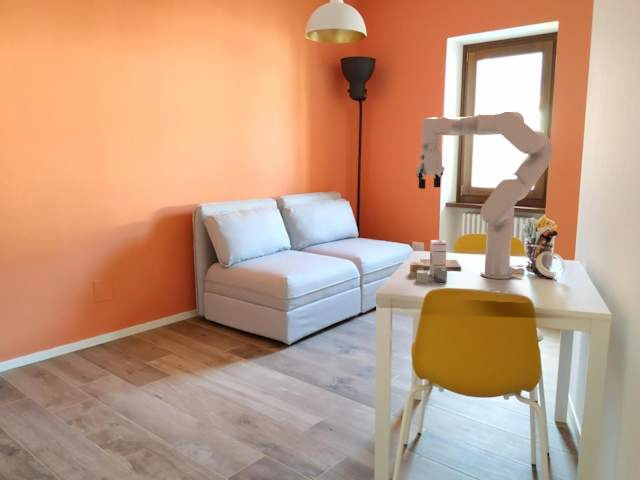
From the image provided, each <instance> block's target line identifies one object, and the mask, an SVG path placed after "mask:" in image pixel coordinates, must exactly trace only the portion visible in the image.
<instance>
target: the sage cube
mask: <svg viewBox="0 0 640 480" xmlns="http://www.w3.org/2000/svg"><path fill="white" fill-rule="evenodd" d="M416 282H417V283H419V284H420V283H421V284H428V282H429V272H428V270H423V271H418V270H417V277H416Z"/></svg>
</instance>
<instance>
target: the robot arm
mask: <svg viewBox="0 0 640 480" xmlns="http://www.w3.org/2000/svg"><path fill="white" fill-rule="evenodd" d="M421 128H422V129H421V130H422V133H421V134H422V135H421V152H420V157H419V165H418V166H417V167H416V168H415V169H414V170H415V175H416V177H417V180H418V189H422V190H425V189H426V177H427V175H432V176H434V177H433V188H438V189H439V188H441V179H442V177H443V175H444V172H445V167H444V166H443V156H442V151H441V136H470V135H471V136H472V135H474V136H475V135H477V136H491V135H501V136H502V137H504V138H505V139H506V140H507V141H508V142H509V143H510V144H512V146H513V147H515V148H516V150H518V151H519V152H520V153H523V154H525V155H527V157H526V158H525V159H524V160H523V161H522V163H521V164H520V165H519V167H518V168H517V170H516V171H515V172H514V174H512V175H511V176H509V177H505V178H504V179H503V180H502V181H500V182H499V183H498V184H497V185H496V187H495V189H493V191H492V192H491V193H490V195H489V197H488V198H486V201H484V203H483V205H482V206H481V209H480V217H481V219H482V220H483V222H484V223H485V224H487V227H486V239H485V258H484V269H483V270H481V271H480V275H481V277H484V278H488V279H496V280H506V279H511V278H514V274H513V273H522V272H523V271H522V270H523V269H522V267H517V266H512V265H511V262H510V261H511V247H512V237H513V235H512V234H513V233H512V232H513V224H514V218H515V207H514V206H516V204H517V203H518V201H521V200H523V199H525V198H526V197H527V195H528V194H529V193H530V191H531V190H532V188H533V187H534V186H535V185H536V183H537V182H538V181H539V179H540V178H541V176H542V175H543V173H544V172H545V171H546V170H547V168H548V166H549V165H550V163H551V161H552V158H553V155H554V153H553V152H554V150H553V144H552V141H551V140H550V138H549V136H548V135H547V134H545V133H544V132H542V131H540V130H539V131H538V130H533V129H532V128H531V127H530V126H529V125H528V124H526V123H525V119H524V116H523V115H522V114H521V113H520V112H519V111H516V110H504V111H500V112H482V113H479V114H478V115H474V116H461V117H460V116H459V117H456V116H455V117H454V116H440V117H425V118H424V119H422V127H421Z"/></svg>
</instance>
